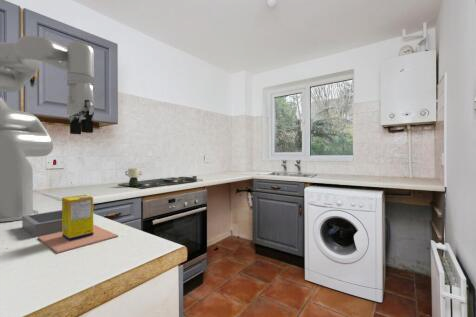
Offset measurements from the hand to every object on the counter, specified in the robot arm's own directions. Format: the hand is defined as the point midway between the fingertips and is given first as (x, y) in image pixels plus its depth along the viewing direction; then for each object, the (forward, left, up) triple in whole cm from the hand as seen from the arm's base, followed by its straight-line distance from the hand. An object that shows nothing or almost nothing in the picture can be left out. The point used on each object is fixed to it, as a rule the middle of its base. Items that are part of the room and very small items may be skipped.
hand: (81, 133), depth 77 cm
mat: (+15, -6, -30) cm, 34 cm away
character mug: (-71, +58, -31) cm, 97 cm away
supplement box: (+15, -6, -30) cm, 34 cm away
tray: (-2, -6, -30) cm, 31 cm away
